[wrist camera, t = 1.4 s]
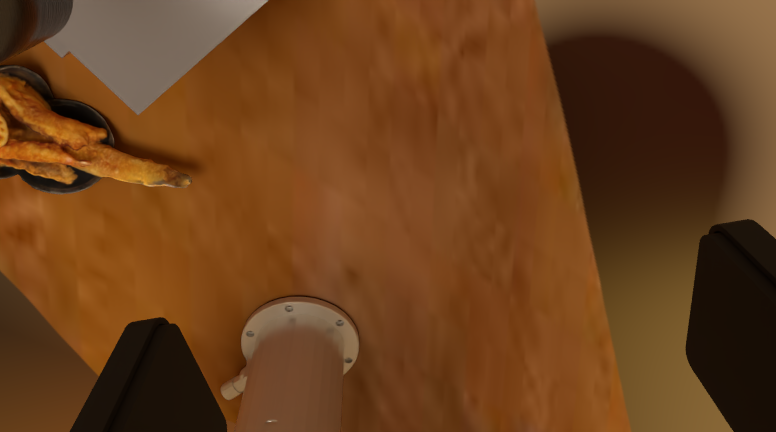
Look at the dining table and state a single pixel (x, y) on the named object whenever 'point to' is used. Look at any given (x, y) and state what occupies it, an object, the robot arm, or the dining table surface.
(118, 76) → the white grey-topped cylinder
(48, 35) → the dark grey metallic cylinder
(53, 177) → the fried shrimp in bowl
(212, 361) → the dining table surface
